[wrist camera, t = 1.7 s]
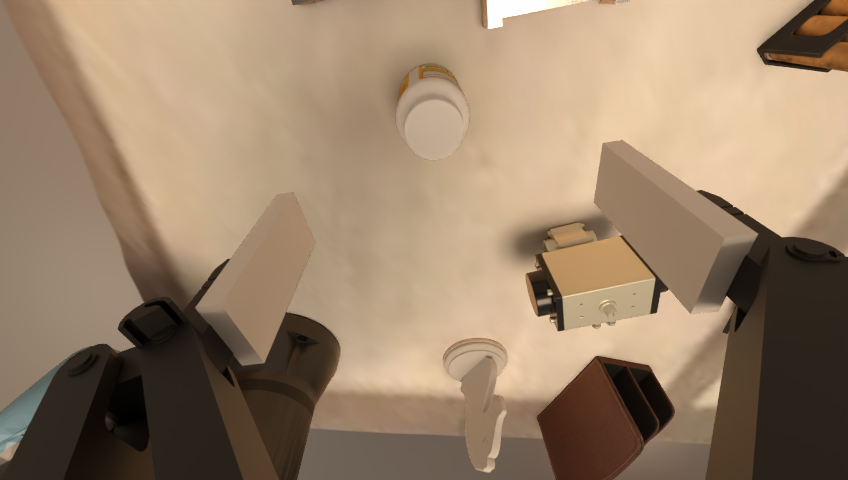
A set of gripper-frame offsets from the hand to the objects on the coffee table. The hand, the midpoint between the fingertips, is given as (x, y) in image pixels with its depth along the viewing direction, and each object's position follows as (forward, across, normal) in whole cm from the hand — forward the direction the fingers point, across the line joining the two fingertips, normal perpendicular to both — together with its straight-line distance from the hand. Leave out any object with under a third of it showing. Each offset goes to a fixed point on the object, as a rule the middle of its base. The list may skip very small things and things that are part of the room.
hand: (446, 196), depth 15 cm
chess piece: (+19, +1, -39) cm, 43 cm away
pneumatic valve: (+19, +13, -18) cm, 29 cm away
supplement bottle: (+19, 0, 0) cm, 19 cm away
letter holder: (+19, +20, -53) cm, 59 cm away
